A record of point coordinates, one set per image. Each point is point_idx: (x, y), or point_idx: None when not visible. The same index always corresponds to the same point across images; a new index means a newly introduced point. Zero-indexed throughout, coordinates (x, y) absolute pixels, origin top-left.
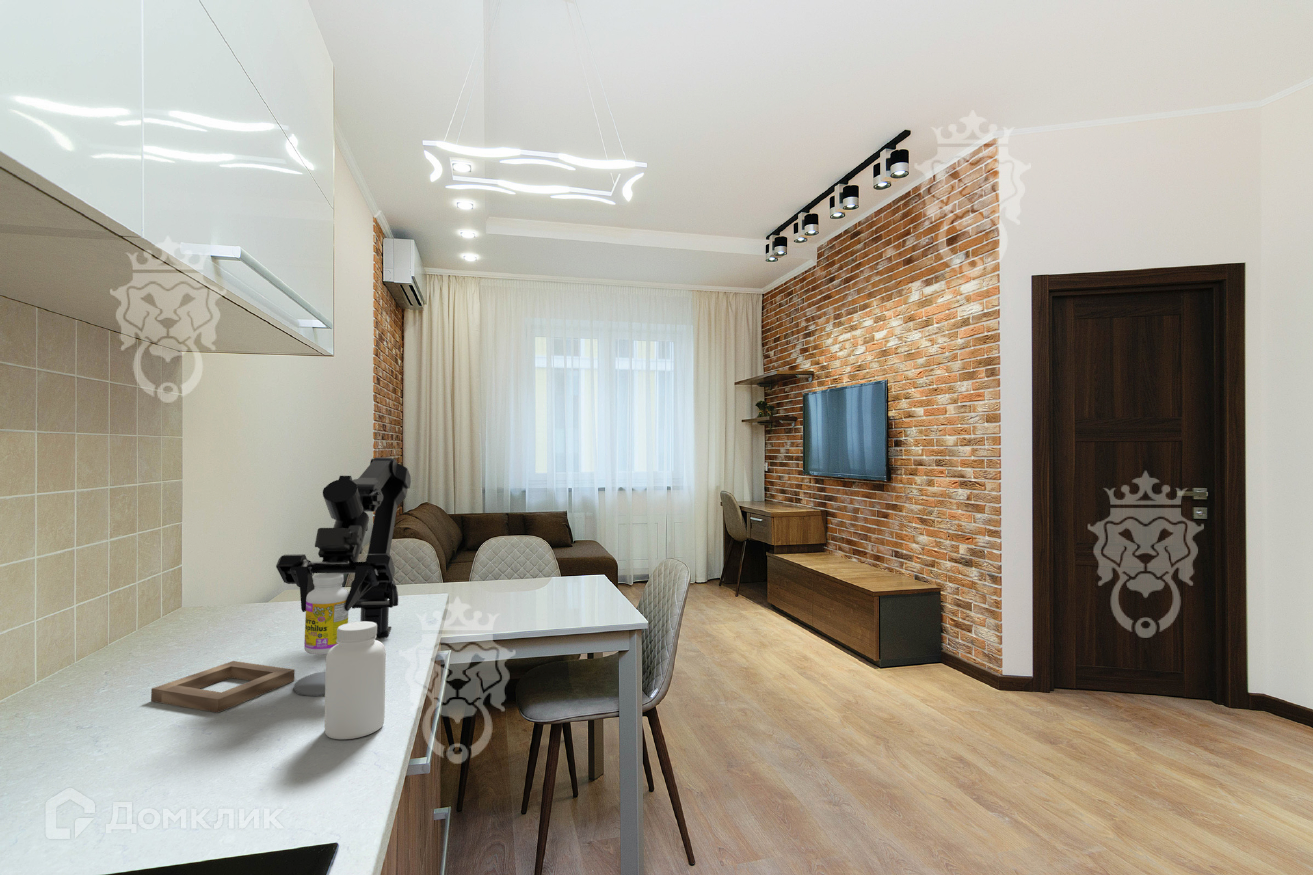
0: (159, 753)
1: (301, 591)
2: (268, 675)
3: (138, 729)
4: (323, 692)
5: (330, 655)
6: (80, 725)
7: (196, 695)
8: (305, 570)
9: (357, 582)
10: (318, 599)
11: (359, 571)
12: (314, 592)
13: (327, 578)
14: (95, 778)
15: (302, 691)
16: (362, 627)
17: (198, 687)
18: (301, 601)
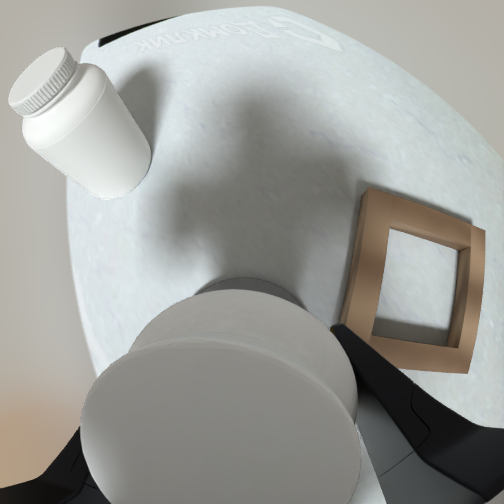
0: (325, 91)
1: (403, 382)
2: (369, 315)
3: (410, 146)
4: (222, 281)
5: (93, 64)
6: (471, 163)
7: (414, 204)
8: (478, 476)
9: (68, 463)
10: (226, 292)
11: (31, 501)
12: (284, 341)
13: (139, 355)
14: (336, 59)
15: (267, 281)
16: (29, 70)
17: (458, 287)
18: (363, 343)
